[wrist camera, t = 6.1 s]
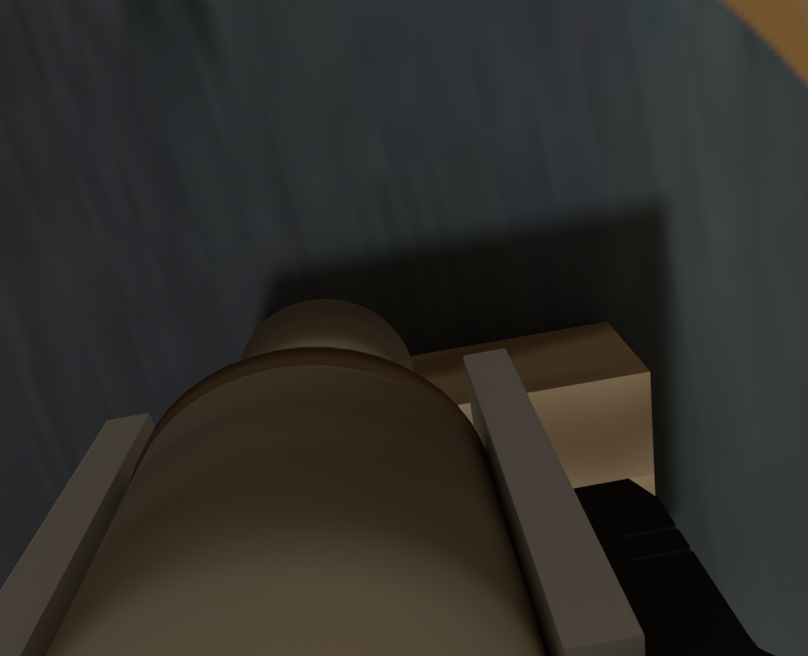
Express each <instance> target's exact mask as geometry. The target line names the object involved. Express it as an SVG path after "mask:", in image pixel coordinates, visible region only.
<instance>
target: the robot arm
mask: <svg viewBox="0 0 808 656" xmlns="http://www.w3.org/2000/svg"><path fill="white" fill-rule="evenodd" d="M463 359H464V366H465V373H466V379H467V386H468V393H469V399H470V406H471V413H472V419H473V426H474V428H475V430H476V431H477V433H478V435H479V437H480V438H481V440H482V442H483V445H484V448H485V450H486V453H487V456H488V459H489V462H490V465H491V468H492V471H493V478H494V485H495V490H496V493H497V496H498V500H499V503H500V506H501V509H502V512H503V515H504V518H505V522H506V525H507V528H508V531H509V534H510V537H511V541H512V544H513V547H514V550H515V553H516V556H517V560H518V563H519V566H520V569H521V572H522V575H523V579H524V582H525V585H526V588H527V591H528V594H529V597H530V601H531V604H532V607H533V610H534V613H535V616H536V620H537V623H538V626H539V629H540V632H541V635H542V639H543V642H544V645H545V648H546V651H547V654H548V656H774V655H772V654H770V653H768V652H766V651H764V650H762V649H760V648H758V647H757V645H756V644H755V643H754V642H753V641H752V639H751V638H750V637H749V635H748V634H747V632H746V631H745V629H744V628H743V626H742V625H741V623H740V622H739V620H738V619H737V617H736V616H735V614H734V613H733V611H732V610H731V608H730V607H729V605H728V604H727V602H726V600H725V599H724V597H723V596H722V594H721V593H720V591H719V590H718V588H717V587H716V585H715V584H714V582H713V581H712V579H711V578H710V576H709V575H708V573H707V572H706V570H705V569H704V567H703V566H702V564H701V563H700V561H699V559H698V558H697V556H696V555H695V553H694V552H693V551H692V552H691V550H690V546H689V544H688V543H687V541H686V540H685V538H684V537H683V535H682V534H681V532H680V531H679V529H676V527H675V523H674V521H673V520H672V518H671V517H670V515H669V514H668V512H667V511H666V509H665V508H664V506H663V505H662V503H661V502H660V500H659V499H658V497H656V496H655V495H653V494H652V493H650V492H649V491H647V490H646V489H644V488H643V487H641V486H640V485H638V484H637V483H635V482H634V481H632V480H631V479H629V478H628V479H622V480H617V481H611V482H606V483H600V484H595V485H589V486H583V487H578V488H573V487H572V485H571V483H570V481H569V479H568V477H567V475H566V473H565V471H564V469H563V466H562V464H561V462H560V460H559V458H558V456H557V454H556V452H555V450H554V448H553V446H552V444H551V442H550V440H549V438H548V436H547V434H546V432H545V429H544V427H543V425H542V423H541V421H540V419H539V417H538V415H537V413H536V411H535V409H534V407H533V405H532V403H531V401H530V399H529V397H528V394H527V392H526V390H525V388H524V386H523V384H522V382H521V380H520V378H519V376H518V374H517V372H516V370H515V368H514V366H513V364H512V362H511V359H510V357H509V355H508V353H507V351H506V349H505V348H504V349H498V350H493V351H487V352H482V353H476V354H471V355H465V356H463ZM153 430H154V426H153V423H152V420H151V417H150V414H149V413H146V414H141V415H135V416H130V417H124V418H119V419H113V420H108V421H106V423H105V425H104V426H103V428H102V429H101V431H100V433H99V434H98V436H97V437H96V439H95V441H94V442H93V444H92V445H91V447H90V448H89V450H88V452H87V453H86V455H85V456H84V458H83V460H82V461H81V463H80V464H79V466H78V468H77V469H76V471H75V472H74V474H73V475H72V477H71V479H70V480H69V482H68V483H67V485H66V487H65V488H64V490H63V491H62V493H61V495H60V496H59V498H58V499H57V501H56V502H55V504H54V506H53V507H52V509H51V510H50V512H49V514H48V515H47V517H46V518H45V520H44V522H43V523H42V525H41V526H40V528H39V529H38V531H37V533H36V534H35V536H34V537H33V539H32V541H31V542H30V544H29V545H28V547H27V549H26V550H25V552H24V553H23V555H22V557H21V558H20V560H19V561H18V563H17V564H16V566H15V568H14V569H13V571H12V572H11V574H10V576H9V577H8V579H7V580H6V582H5V584H4V585H3V587H2V588H1V590H0V656H46V655H47V653H48V650H49V648H50V646H51V644H52V642H53V640H54V638H55V636H56V634H57V632H58V630H59V628H60V626H61V624H62V622H63V620H64V618H65V616H66V614H67V612H68V610H69V608H70V606H71V603H72V601H73V599H74V597H75V595H76V593H77V591H78V589H79V587H80V585H81V583H82V581H83V579H84V577H85V575H86V573H87V571H88V569H89V567H90V565H91V563H92V561H93V558H94V556H95V554H96V552H97V550H98V548H99V546H100V544H101V542H102V540H103V538H104V536H105V534H106V532H107V530H108V528H109V526H110V524H111V522H112V520H113V518H114V516H115V514H116V511H117V509H118V507H119V505H120V503H121V501H122V499H123V497H124V495H125V493H126V491H127V489H128V487H129V482H130V479H131V476H132V474H133V471H134V468H135V465H136V463H137V460H138V458H139V456H140V454H141V452H142V450H143V448H144V446H145V444H146V443H147V441H148V439H149V437H150V435H151V434H152V432H153Z"/></svg>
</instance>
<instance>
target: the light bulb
mask: <svg viewBox="0 0 808 656" xmlns="http://www.w3.org/2000/svg"><path fill="white" fill-rule="evenodd" d="M46 656H548V654H547V651H546V648H545V645H544V642H543V639H542V635H541V632H540V629H539V626H538V623H537V620H536V616H535V613H534V610H533V607H532V604H531V601H530V597H529V594H528V591H527V588H526V585H525V582H524V579H523V575H522V572H521V569H520V566H519V563H518V560H517V556H516V553H515V550H514V547H513V544H512V541H511V537H510V534H509V531H508V528H507V525H506V522H505V518H504V515H503V512H502V509H501V506H500V503H499V500H498V496H497V493H496V490H495V485H494V478H493V471H492V468H491V465H490V462H489V459H488V456H487V453H486V450H485V448H484V445H483V442H482V440H481V438H480V437H479V435H478V433H477V431H476V430H475V428H474V426H473V425H472V423H471V421H470V420H469V419H468V418H467V416H466V415H465V414H464V413H463V411H462V410H461V409H460V408H459V406H458V405H457V404H456V403H455V402H454V401H452V400H451V399H450V398H449V397H448V396H447V395H446V394H445V393H444V392H443V391H442V390H441V389H439V388H438V387H436V386H435V385H434V384H432V383H431V382H429V381H428V380H427V379H425V378H424V377H422V376H421V375H419V374H417V373H416V372H414V371H413V368H412V363H411V359H410V355H409V353H408V350H407V348H406V345H405V344H404V342H403V340H402V339H401V337H400V335H399V334H398V333H397V332H396V330H395V329H394V328H393V327H392V326H391V325H390V324H389V323H388V322H387V321H386V320H385V319H383V318H382V317H380V316H379V315H378V314H376V313H375V312H373V311H371V310H369V309H367V308H365V307H363V306H360V305H358V304H355V303H351V302H347V301H343V300H335V299H316V300H308V301H304V302H300V303H296V304H293V305H291V306H288V307H286V308H284V309H282V310H280V311H278V312H276V313H275V314H273V315H272V316H271V317H269V318H268V319H267V320H265V321H264V322H263V323H262V324H261V325H260V326H259V327H258V328H257V330H256V331H255V332H254V333H253V335H252V336H251V338H250V339H249V341H248V343H247V345H246V347H245V349H244V352H243V354H242V357H241V360H240V361H238V362H235V363H232V364H230V365H228V366H226V367H224V368H222V369H221V370H219V371H217V372H215V373H213V374H211V375H209V376H207V377H206V378H204V379H203V380H202V381H200V382H199V383H197V384H196V385H195V386H193V387H192V388H191V389H189V390H188V391H186V392H185V393H184V394H183V395H182V396H181V397H180V398H179V399H178V400H177V401H176V402H175V403H174V404H173V405H172V406H171V407H170V408H169V409H168V410H167V412H166V413H165V414H164V416H163V417H162V418H161V420H160V421H159V422H158V423H157V425H156V426H155V428H154V430H153V432H152V434H151V435H150V437H149V439H148V441H147V443H146V444H145V446H144V448H143V450H142V452H141V454H140V456H139V458H138V460H137V463H136V465H135V468H134V471H133V474H132V476H131V479H130V482H129V487H128V489H127V491H126V493H125V495H124V497H123V499H122V501H121V503H120V505H119V507H118V509H117V511H116V514H115V516H114V518H113V520H112V522H111V524H110V526H109V528H108V530H107V532H106V534H105V536H104V538H103V540H102V542H101V544H100V546H99V548H98V550H97V552H96V554H95V556H94V558H93V561H92V563H91V565H90V567H89V569H88V571H87V573H86V575H85V577H84V579H83V581H82V583H81V585H80V587H79V589H78V591H77V593H76V595H75V597H74V599H73V601H72V603H71V606H70V608H69V610H68V612H67V614H66V616H65V618H64V620H63V622H62V624H61V626H60V628H59V630H58V632H57V634H56V636H55V638H54V640H53V642H52V644H51V646H50V648H49V650H48V653H47V655H46Z"/></svg>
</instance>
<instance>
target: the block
mask: <svg viewBox="0 0 808 656" xmlns="http://www.w3.org/2000/svg"><path fill="white" fill-rule="evenodd" d="M504 348H505V349H506V351H507V353H508V355H509V357H510V359H511V362H512V364H513V366H514V368H515V370H516V372H517V374H518V376H519V378H520V380H521V382H522V384H523V386H524V388H525V390H526V392H527V394H528V397H529V399H530V401H531V403H532V405H533V407H534V409H535V411H536V413H537V415H538V417H539V419H540V421H541V423H542V425H543V427H544V429H545V432H546V434H547V436H548V438H549V440H550V442H551V444H552V446H553V448H554V450H555V452H556V454H557V456H558V458H559V460H560V462H561V464H562V466H563V469H564V471H565V473H566V475H567V477H568V479H569V481H570V483H571V485H572V487H573V488H578V487H583V486H589V485H595V484H600V483H606V482H611V481H617V480H622V479H628V478H629V479H631V480H632V481H634V482H635V483H637V484H638V485H640V486H641V487H643V488H644V489H646V490H647V491H649V492H650V493H652V494H653V495H655V479H654V454H653V430H652V405H651V380H650V371H649V370H648V369H647V367H646V366H645V365H644V364H643V363H642V362H641V360H640V359H639V358H638V357H637V356H636V355H635V353H634V352H633V351H632V350H631V349H630V348H629V346H628V345H627V344H626V343H625V342H624V341H623V339H622V338H621V337H620V336H619V335H618V334H617V333H616V331H615V330H614V329H613V328H612V327H611V326H610V324H609V323H608V322H601V323H595V324H590V325H584V326H578V327H573V328H567V329H561V330H556V331H550V332H544V333H539V334H533V335H527V336H522V337H516V338H510V339H505V340H499V341H493V342H488V343H482V344H476V345H471V346H465V347H459V348H454V349H448V350H442V351H436V352H431V353H425V354H419V355H414V356H410V359H411V363H412V368H413V371H414V372H416V373H417V374H419V375H421V376H422V377H424V378H425V379H427V380H428V381H429V382H431V383H432V384H434V385H435V386H436V387H438V388H439V389H441V390H442V391H443V392H444V393H445V394H446V395H447V396H448V397H449V398H450V399H451V400H452V401H454V402H455V403H456V404H457V405H458V406H459V408H460V409H461V410H462V411H463V413H464V414H465V415H466V416H467V418H468V419H469V420H470V421H471V423H472V425H473V419H472V413H471V406H470V399H469V393H468V386H467V379H466V373H465V366H464V359H463V356H465V355H471V354H476V353H482V352H487V351H493V350H498V349H504Z"/></svg>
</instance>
